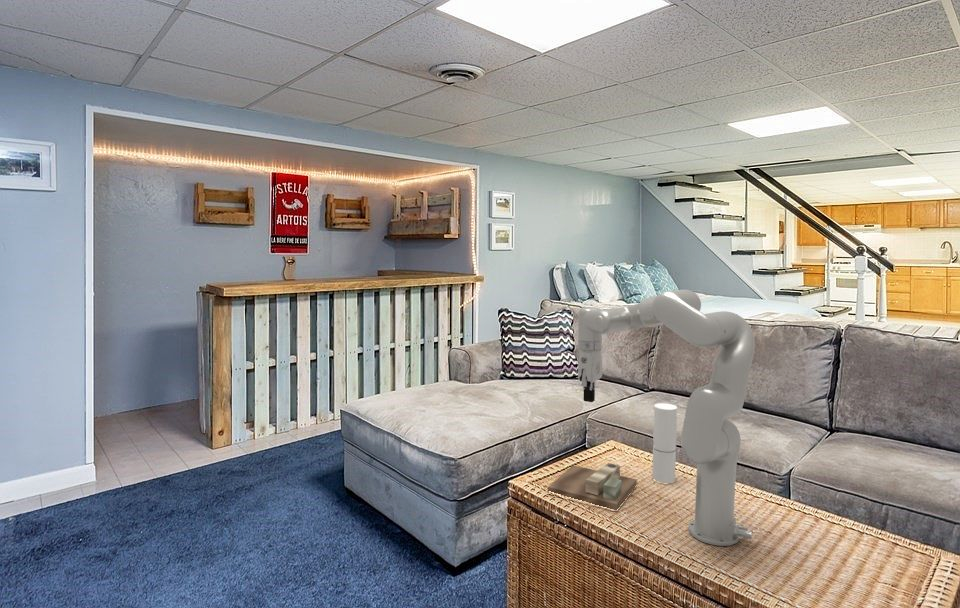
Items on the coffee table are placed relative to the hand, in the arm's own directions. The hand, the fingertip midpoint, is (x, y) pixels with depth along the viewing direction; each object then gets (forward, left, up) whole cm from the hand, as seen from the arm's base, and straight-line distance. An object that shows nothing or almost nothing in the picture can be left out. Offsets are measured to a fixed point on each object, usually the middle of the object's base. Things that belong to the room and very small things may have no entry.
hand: (589, 401), depth 177 cm
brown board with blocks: (-4, +6, -27) cm, 28 cm away
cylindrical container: (-21, -14, -27) cm, 37 cm away
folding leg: (-7, +6, -24) cm, 26 cm away
